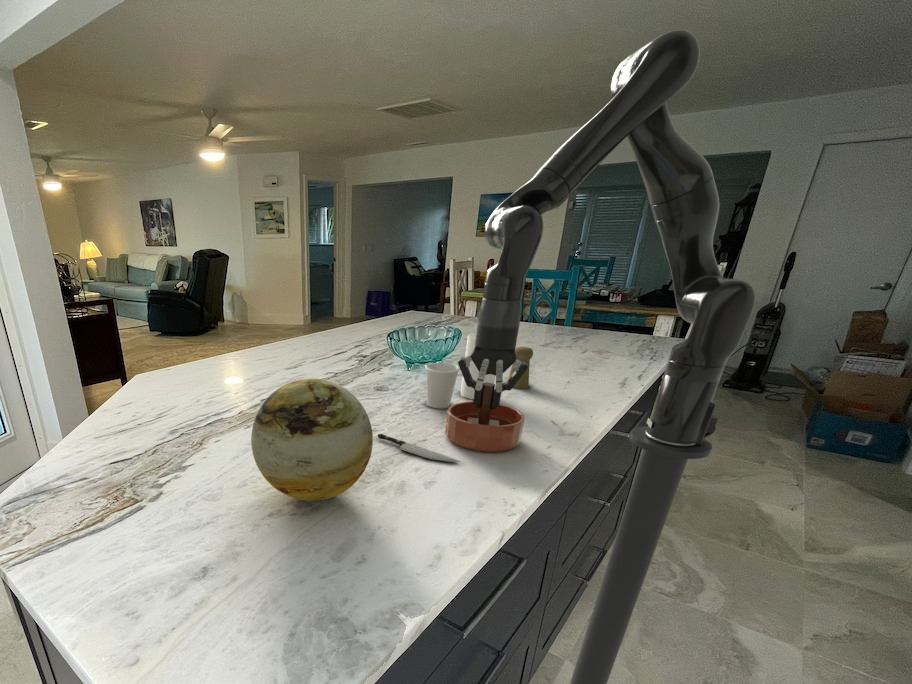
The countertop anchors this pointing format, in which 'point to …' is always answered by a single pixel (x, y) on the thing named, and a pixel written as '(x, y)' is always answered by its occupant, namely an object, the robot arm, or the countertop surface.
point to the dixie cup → (440, 384)
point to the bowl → (484, 428)
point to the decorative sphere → (312, 439)
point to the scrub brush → (485, 406)
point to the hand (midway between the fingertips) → (485, 407)
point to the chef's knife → (418, 450)
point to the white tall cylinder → (473, 370)
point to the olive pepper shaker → (522, 355)
